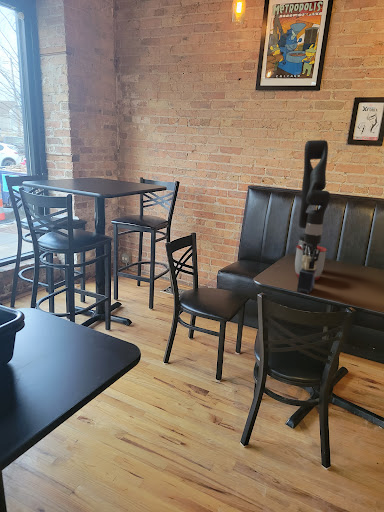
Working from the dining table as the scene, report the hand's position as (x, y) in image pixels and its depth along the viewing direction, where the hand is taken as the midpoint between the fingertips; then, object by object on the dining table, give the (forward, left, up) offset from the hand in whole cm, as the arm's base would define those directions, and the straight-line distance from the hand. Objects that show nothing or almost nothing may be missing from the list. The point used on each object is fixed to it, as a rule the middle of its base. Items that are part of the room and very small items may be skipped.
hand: (308, 266), depth 174 cm
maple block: (0, 0, -1) cm, 1 cm away
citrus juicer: (-20, +9, -12) cm, 25 cm away
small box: (0, 0, -12) cm, 12 cm away
